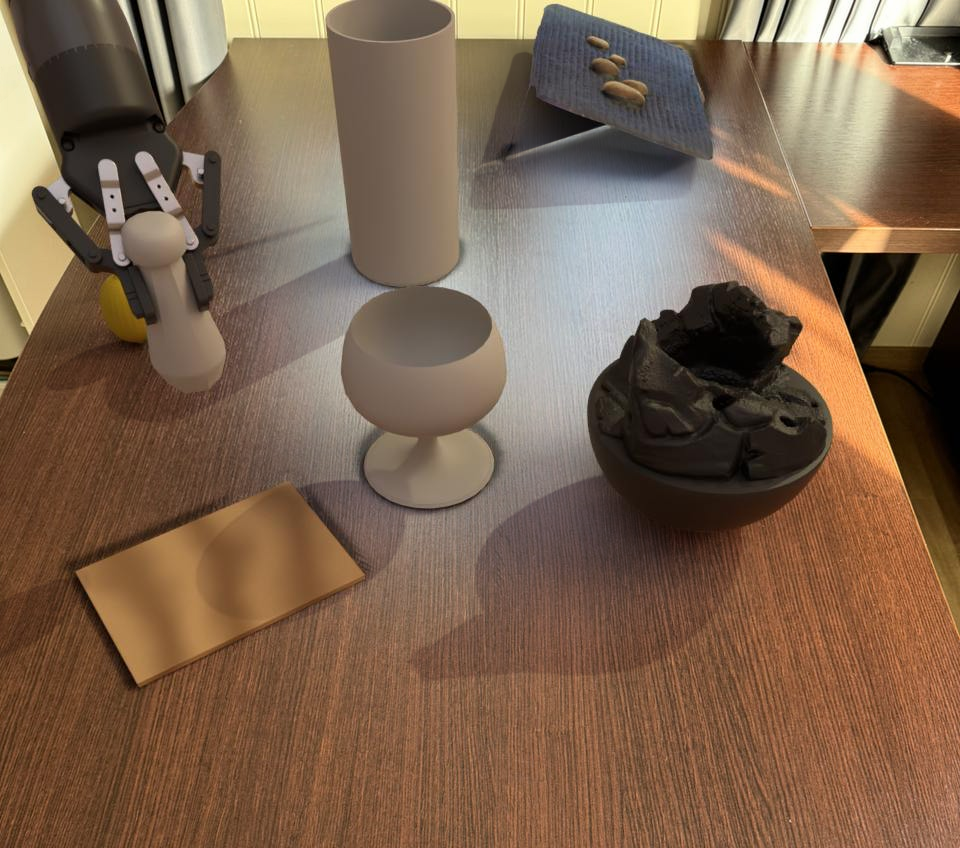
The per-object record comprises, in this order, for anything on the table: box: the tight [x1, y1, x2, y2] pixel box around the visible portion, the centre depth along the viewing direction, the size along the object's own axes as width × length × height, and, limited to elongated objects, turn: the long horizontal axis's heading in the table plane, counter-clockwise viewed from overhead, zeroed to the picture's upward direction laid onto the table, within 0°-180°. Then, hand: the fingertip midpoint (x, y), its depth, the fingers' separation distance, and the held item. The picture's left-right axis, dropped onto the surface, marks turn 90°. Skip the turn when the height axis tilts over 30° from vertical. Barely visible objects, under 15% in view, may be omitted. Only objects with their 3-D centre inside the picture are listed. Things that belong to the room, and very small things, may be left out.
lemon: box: [98, 274, 148, 344], centre depth 96 cm, size 6×6×8 cm
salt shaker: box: [121, 211, 227, 394], centre depth 69 cm, size 6×6×13 cm
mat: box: [502, 3, 714, 162], centre depth 134 cm, size 45×27×12 cm, turn 176°
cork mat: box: [75, 480, 366, 688], centre depth 78 cm, size 20×14×1 cm
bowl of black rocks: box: [586, 280, 834, 533], centre depth 77 cm, size 20×20×19 cm
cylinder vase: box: [324, 0, 460, 288], centre depth 99 cm, size 12×12×25 cm
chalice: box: [340, 285, 508, 509], centre depth 81 cm, size 14×14×15 cm
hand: (178, 314), depth 67 cm, fingers closed on salt shaker, 3 cm apart
